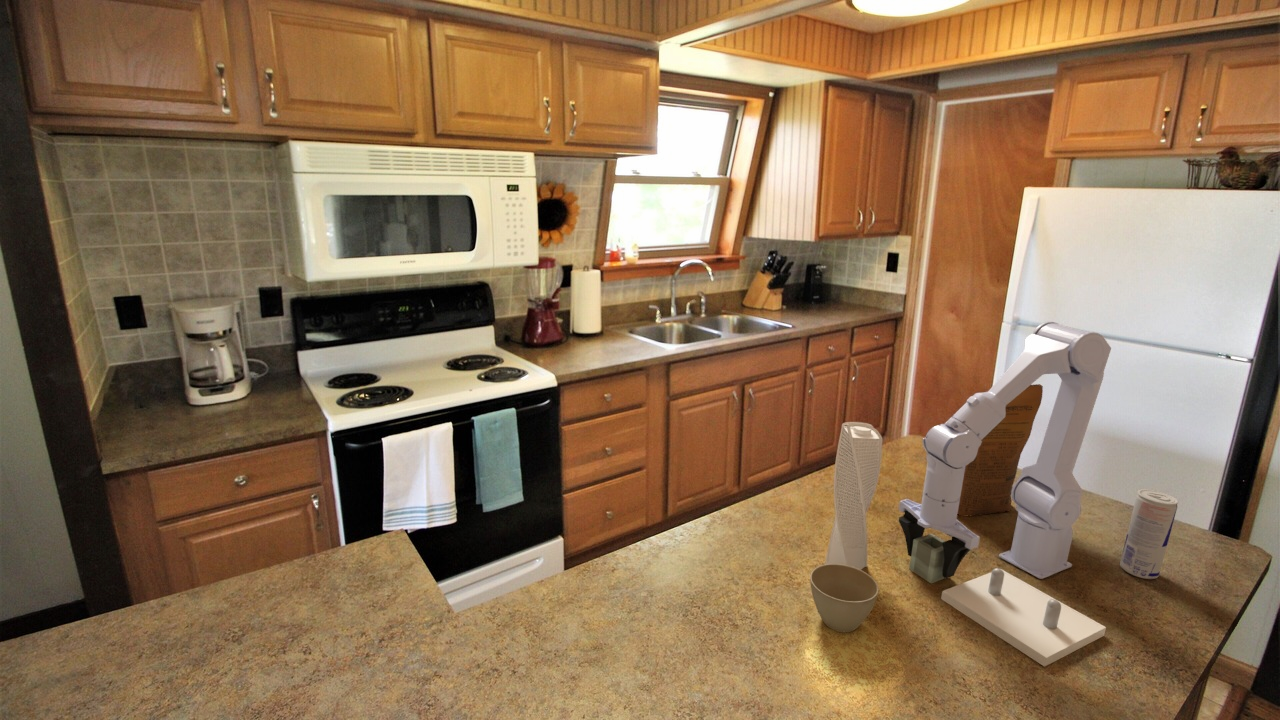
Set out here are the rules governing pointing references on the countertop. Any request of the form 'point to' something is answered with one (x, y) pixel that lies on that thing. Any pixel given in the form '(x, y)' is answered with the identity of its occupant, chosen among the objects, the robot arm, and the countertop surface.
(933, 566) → the square socket block
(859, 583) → the flower pot
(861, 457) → the skyscraper
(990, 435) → the pancake mix bag
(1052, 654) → the jig board
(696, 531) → the countertop surface
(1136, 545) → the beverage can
